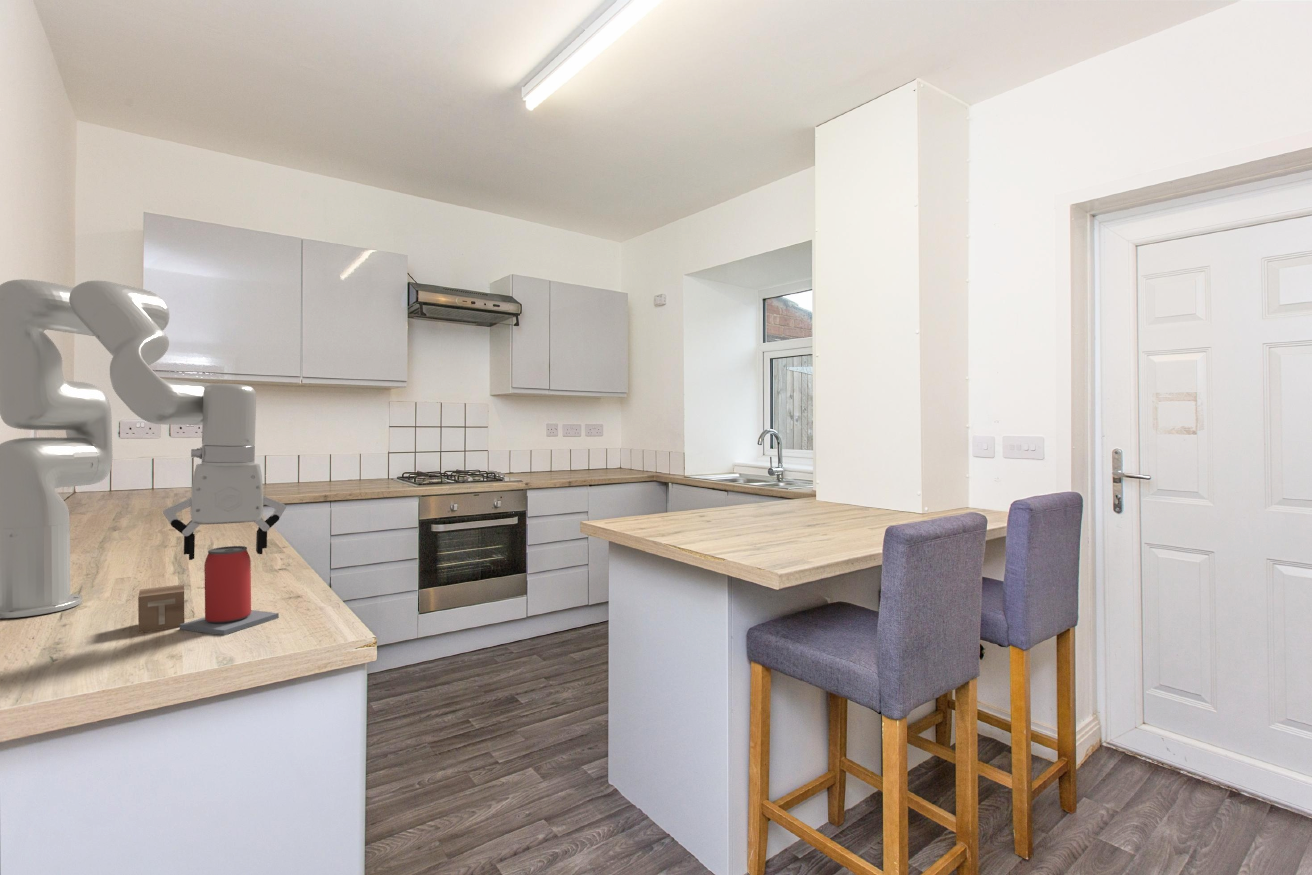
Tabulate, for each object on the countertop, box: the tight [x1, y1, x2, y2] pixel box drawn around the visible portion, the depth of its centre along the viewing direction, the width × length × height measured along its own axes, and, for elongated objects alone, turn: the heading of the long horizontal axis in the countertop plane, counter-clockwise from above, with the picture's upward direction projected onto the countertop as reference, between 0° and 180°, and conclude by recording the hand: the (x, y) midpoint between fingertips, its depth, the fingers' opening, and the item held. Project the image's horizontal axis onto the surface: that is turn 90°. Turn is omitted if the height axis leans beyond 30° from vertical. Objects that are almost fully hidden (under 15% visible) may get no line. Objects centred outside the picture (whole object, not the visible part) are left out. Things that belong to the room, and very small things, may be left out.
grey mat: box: [179, 609, 279, 636], centre depth 108 cm, size 10×10×1 cm
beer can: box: [203, 545, 252, 623], centre depth 107 cm, size 7×7×12 cm
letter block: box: [137, 583, 185, 634], centre depth 107 cm, size 6×6×6 cm
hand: (226, 555), depth 108 cm, fingers open, 9 cm apart
